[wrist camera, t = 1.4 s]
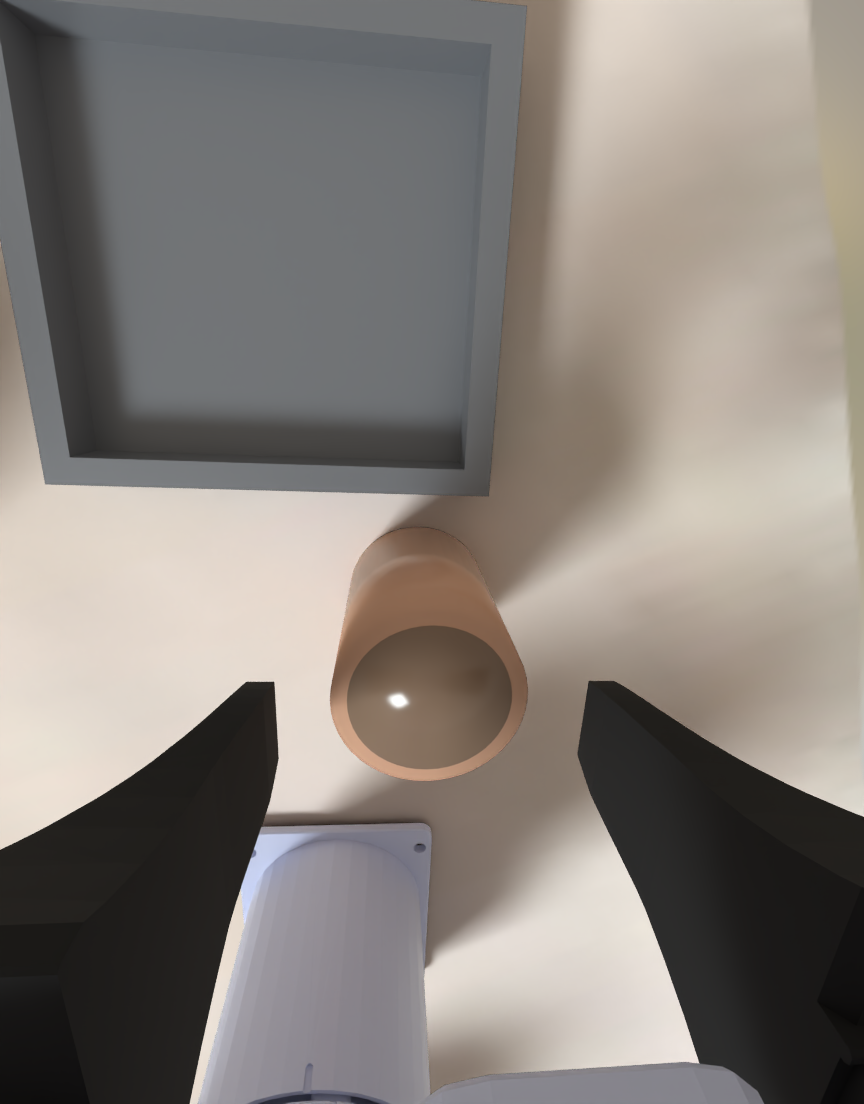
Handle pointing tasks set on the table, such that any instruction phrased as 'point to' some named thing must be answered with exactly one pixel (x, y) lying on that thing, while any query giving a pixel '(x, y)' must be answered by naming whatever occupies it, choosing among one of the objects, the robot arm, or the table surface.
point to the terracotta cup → (424, 661)
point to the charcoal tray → (260, 238)
